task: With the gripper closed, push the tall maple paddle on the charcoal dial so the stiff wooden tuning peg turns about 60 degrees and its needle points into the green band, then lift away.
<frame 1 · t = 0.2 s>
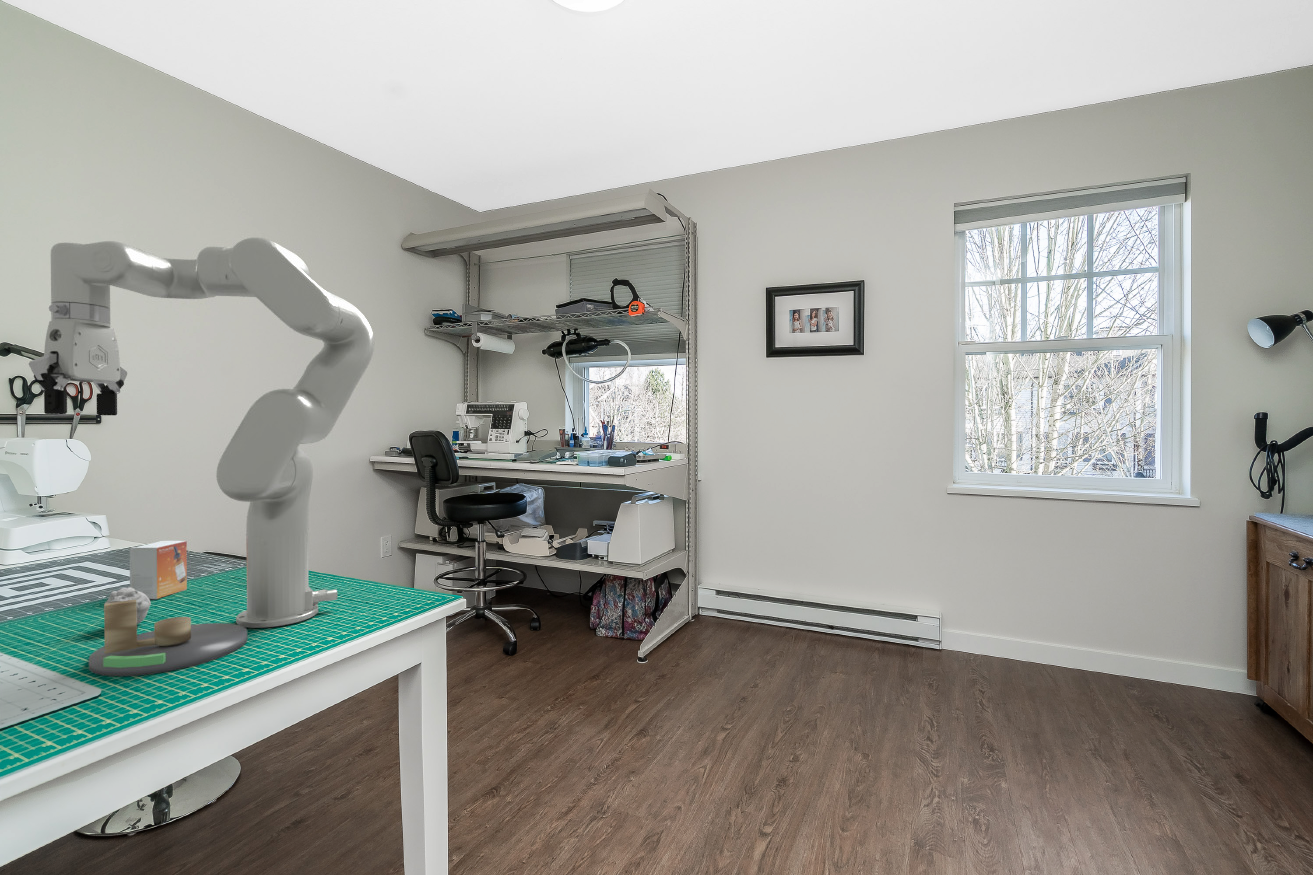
hand: (82, 414, 106), 37 cm above the table, tool pointing down, fingers open, 9 cm apart
small box: (159, 595, 125), on the table
grey rounded lump: (127, 628, 104), on the table
dial face: (173, 650, 93), on the table
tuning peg: (149, 621, 91), point 5 cm above the table, hinge at 0.0°
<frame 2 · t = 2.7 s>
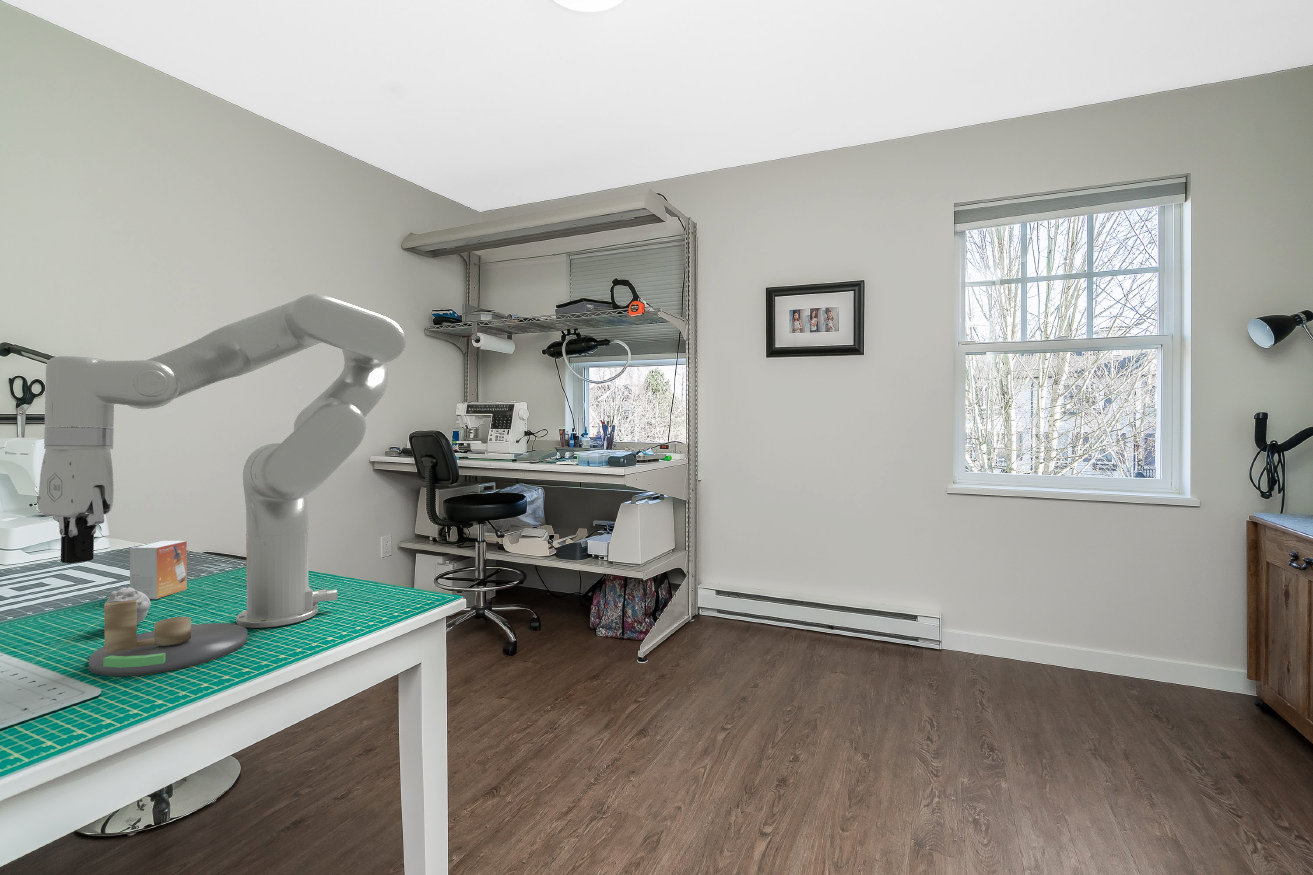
hand: (77, 561, 91), 14 cm above the table, tool pointing down, fingers closed
nothing on the table moved.
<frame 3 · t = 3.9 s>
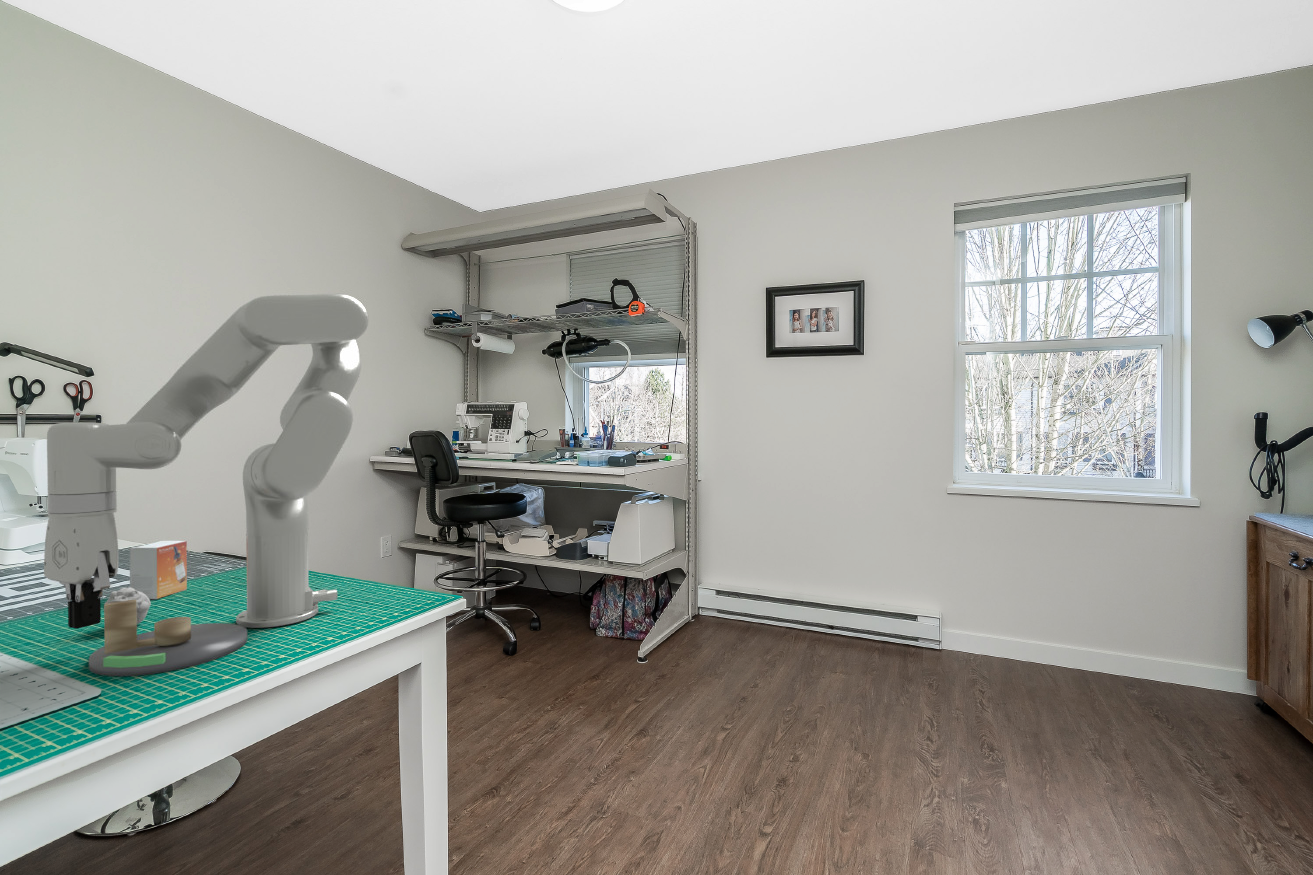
hand: (84, 625, 91), 5 cm above the table, tool pointing down, fingers closed
nothing on the table moved.
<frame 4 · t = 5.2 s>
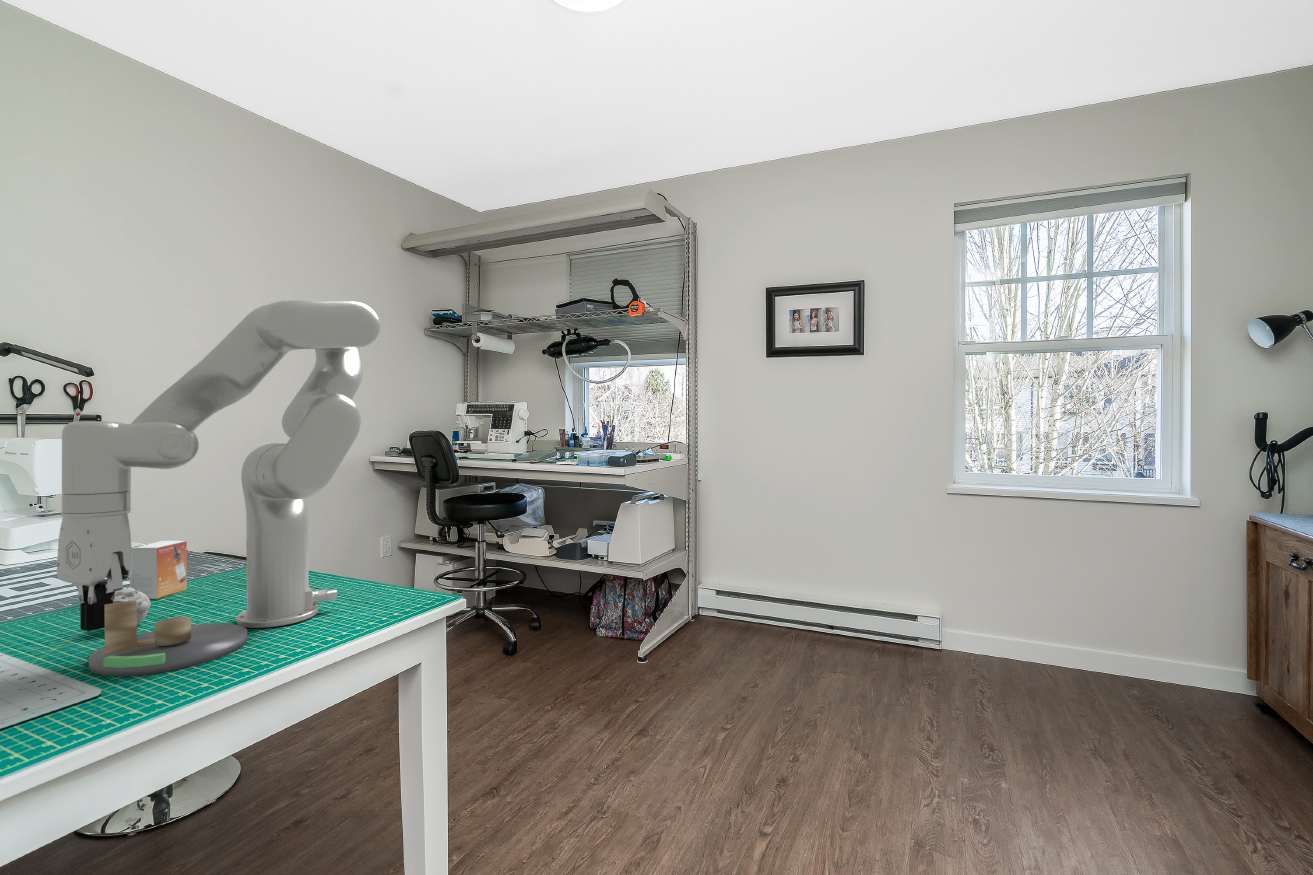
hand: (96, 627, 90), 5 cm above the table, tool pointing down, fingers closed
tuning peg: (149, 621, 91), point 5 cm above the table, hinge at 4.3°, touching gripper
everything else where it was.
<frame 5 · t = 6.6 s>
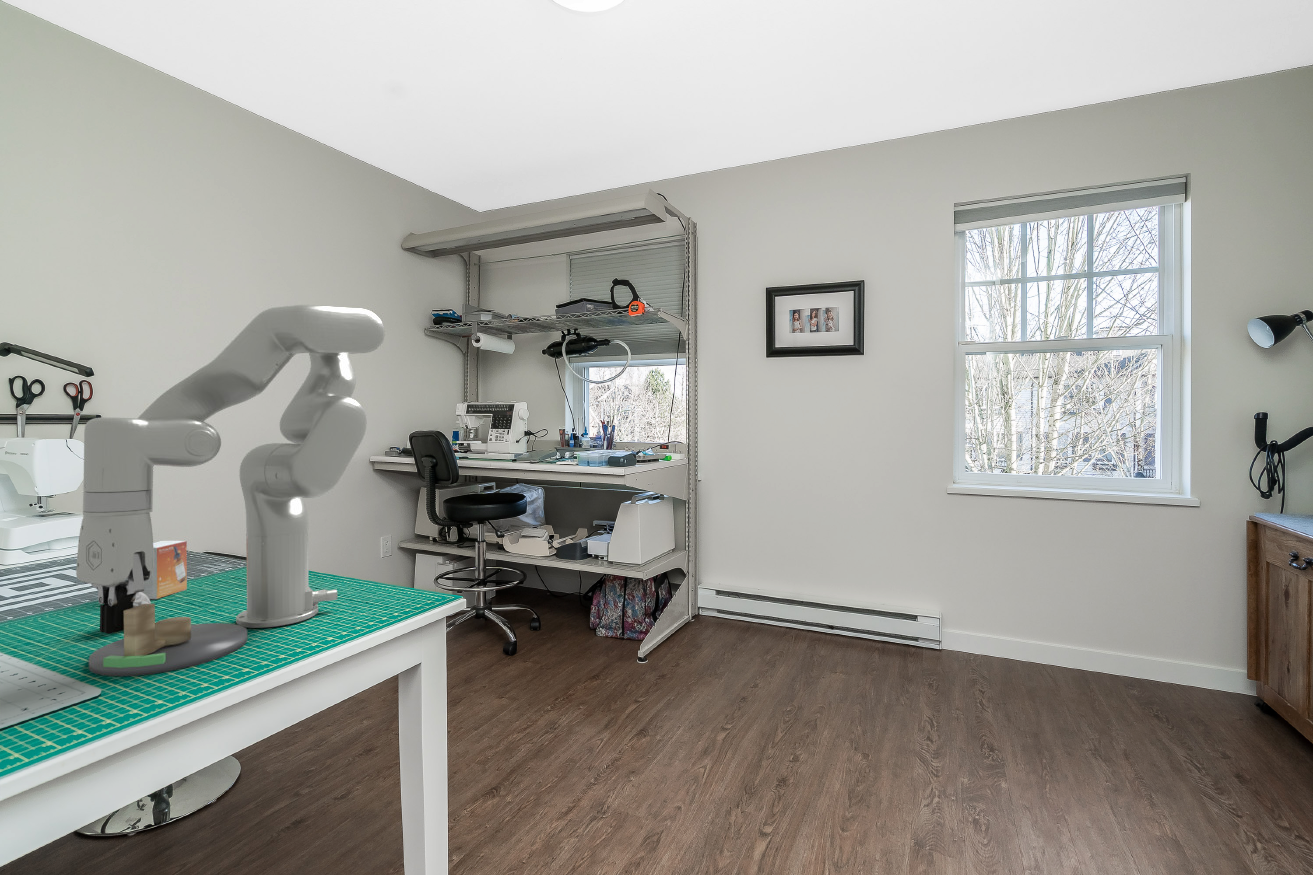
hand: (116, 630, 87), 5 cm above the table, tool pointing down, fingers closed
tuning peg: (158, 623, 90), point 5 cm above the table, hinge at 51.5°, touching gripper
everything else where it was.
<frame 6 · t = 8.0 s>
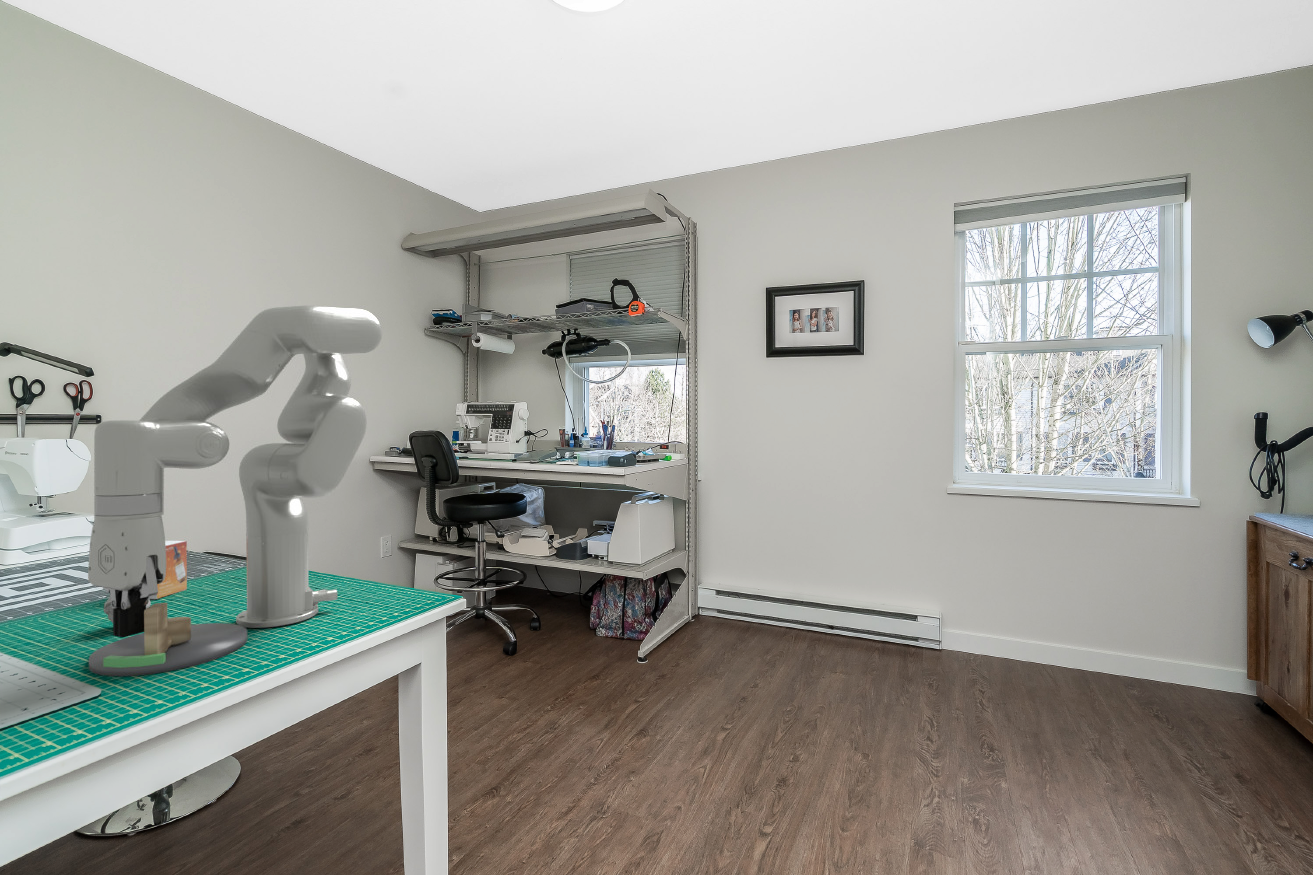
hand: (129, 633, 87), 5 cm above the table, tool pointing down, fingers closed
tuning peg: (165, 623, 91), point 5 cm above the table, hinge at 71.5°, touching gripper
everything else where it was.
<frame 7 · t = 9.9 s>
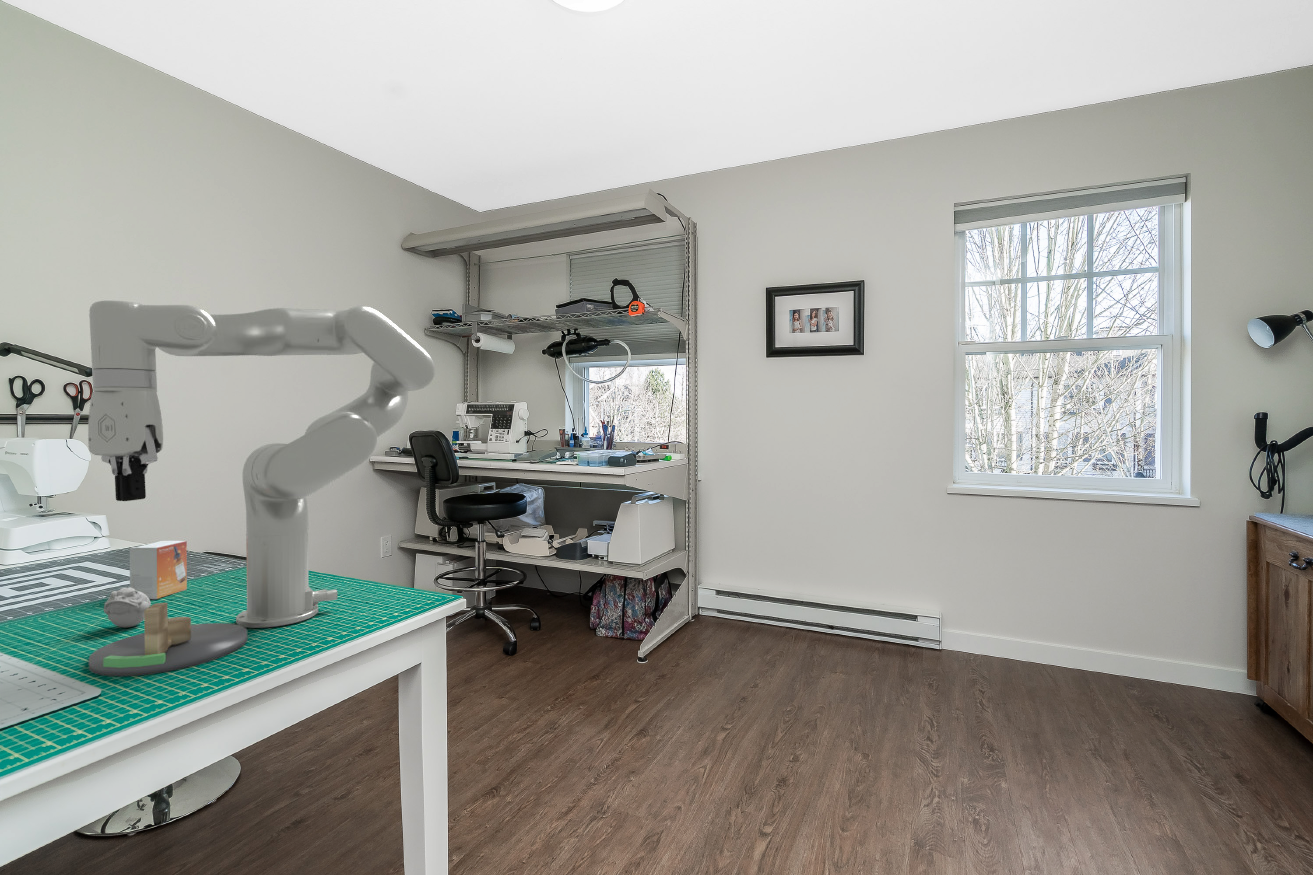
hand: (131, 499, 95), 23 cm above the table, tool pointing down, fingers closed
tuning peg: (165, 623, 91), point 5 cm above the table, hinge at 71.6°
everything else where it was.
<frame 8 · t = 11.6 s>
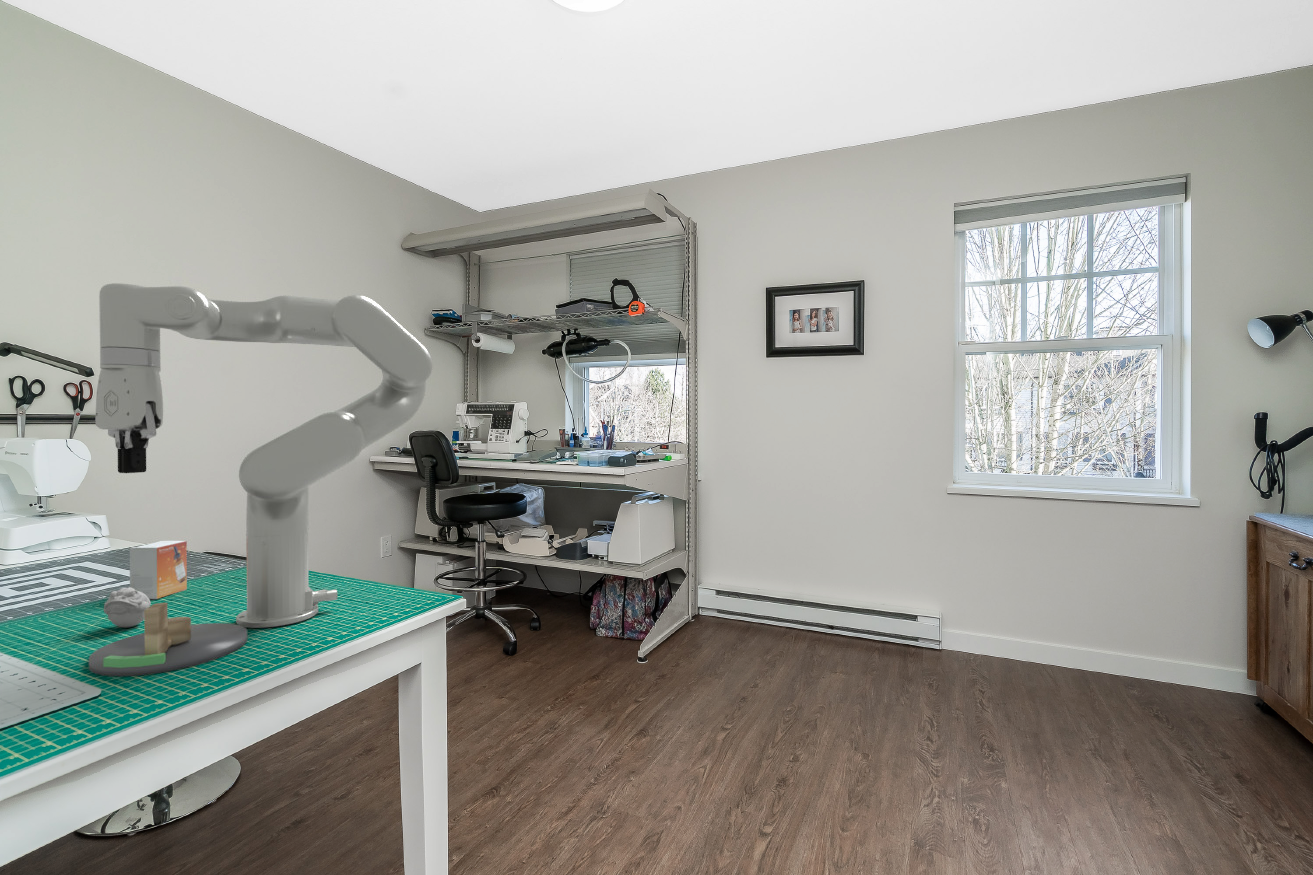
hand: (132, 472, 100), 27 cm above the table, tool pointing down, fingers closed
nothing on the table moved.
at the end: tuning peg at +72° (first picture: +0°); grey rounded lump moved 0.2 cm from its start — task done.
